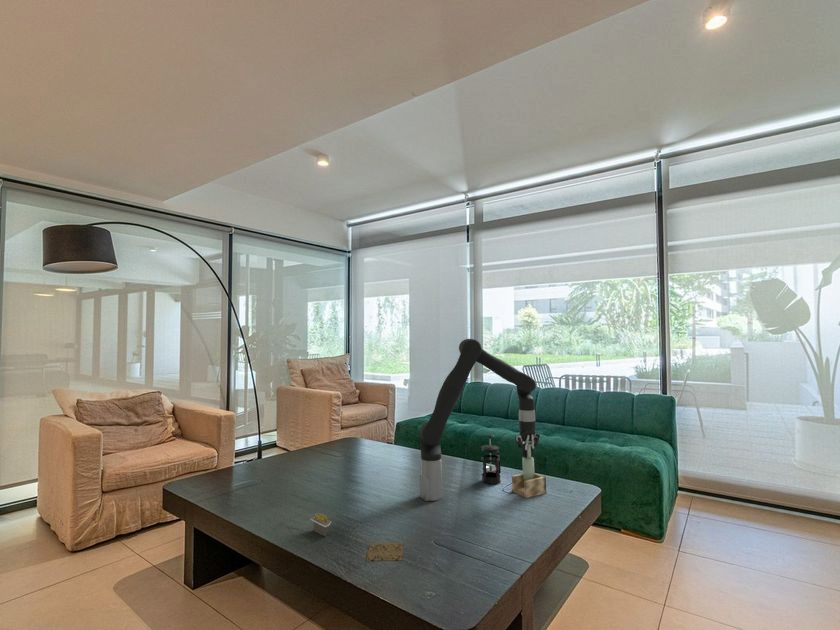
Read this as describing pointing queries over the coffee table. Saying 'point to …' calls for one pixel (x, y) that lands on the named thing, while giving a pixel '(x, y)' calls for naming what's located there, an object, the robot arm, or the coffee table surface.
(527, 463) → the pale green pin
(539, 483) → the u rest
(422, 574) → the coffee table surface
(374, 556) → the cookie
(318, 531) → the plastic food container
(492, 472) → the french press
